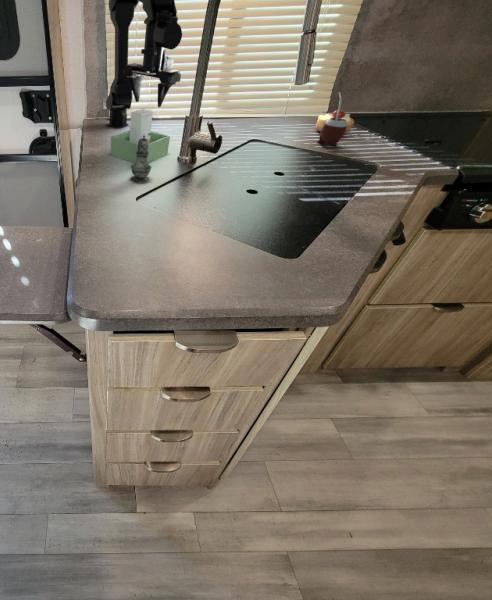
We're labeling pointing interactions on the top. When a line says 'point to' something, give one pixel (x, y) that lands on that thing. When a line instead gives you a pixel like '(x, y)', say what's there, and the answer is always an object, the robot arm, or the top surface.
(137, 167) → the grey tall ornate piece
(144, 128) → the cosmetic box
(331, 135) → the mate gourd
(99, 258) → the top surface
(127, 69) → the robot arm
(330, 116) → the pastry
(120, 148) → the green open box
